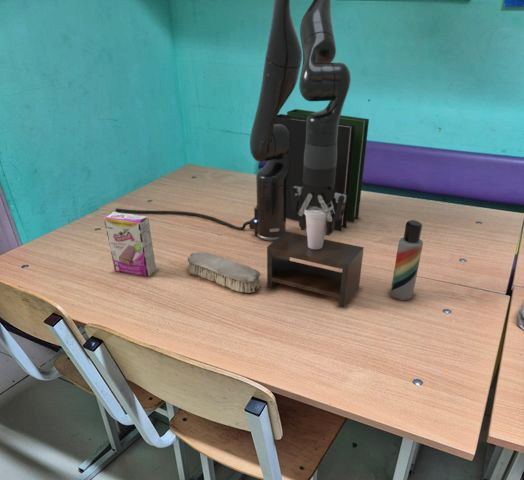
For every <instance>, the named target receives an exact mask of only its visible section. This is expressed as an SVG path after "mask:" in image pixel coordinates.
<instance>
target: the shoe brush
mask: <svg viewBox="0 0 524 480" xmlns="http://www.w3.org/2000/svg"><path fill="white" fill-rule="evenodd" d="M187 262H188V268H187V269H188V273H190V275H193V276H194V275H195V276H198V277H200V278H201V279H206V280H208V281H210V282H215V283H216V284H217V285H219V286H222V287H226V288H228V289H230V290H232V291H235V292H237V293H245V294H250V293H251V294H252V293H255V292H256V290H258V289H259V288H260V276H261V272H260V271H258V270H257V269H255V268H252V267H250V266H249V265H246V264H243V263H240V262H238V261H235V260H232V259H229V258H227V257H223V256H220V255H217V254H212V253H209V252H204V251H203V252H202V251H201V252H200V251H199V252H192V253H190V254H189V256H188V257H187ZM255 289H256V290H255Z"/></svg>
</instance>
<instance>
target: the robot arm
mask: <svg viewBox="0 0 524 480" xmlns="http://www.w3.org/2000/svg"><path fill="white" fill-rule="evenodd" d="M331 3H332V0H312V1H311V4H310V5H309V6H308V8H307V9H306V11H305V12H304V14H303V16H302V19H301V23H300V26H299V36H300V39H299V36H298V34H297V32H296V29H295V25H294V22H293V18H292V17H293V16H292V13H291V0H273V10H272V17H271V25H270V31H269V37H268V42H267V47H266V52H265V58H264V64H263V71H262V80H261V86H260V92H259V97H258V104H257V107H256V111H255V115H254V119H253V124H252V127H251V131H250V135H249V136H250V137H249V150H250V154H251V156H252V158H253V159H254V160H255V161H257V162H259V163H263V162H266V163H265V165H264V166H263V167H261V169H259V170H258V171H257V172H256V174H255V175H256V176H255V180H256V182H255V183H256V187H255V188H256V205H255V206H254V208H253V211H254V212H253V214H254V215H253V216H254V217H253V218H251V219H250V220H248V221H245V222H244V223H243V224H242V226H235V225H234V224H231V223H229V222H226V221H224V220H221V219H219V218H216V217H214V216H212V215H211V216H210V215H207V214H203V213H198V212H191V211H181V210H179V211H177V210H143V209H142V210H141V209H140V210H139V209H138V210H137V209H125V208H117V207H116V208H115V212H119V213H129V214H161V215H162V214H167V215H184V216H185V215H186V216H194V217H198V218H199V217H200V218H204V219H208V220H211V221H214V222H216V223H219V224H221V225H223V226H227V227H229V228H231V229H233V230H238V231H243V230H245V228H246V227H247V226H248V225H249V230H254V236H255V237H257V238H259V239H260V240H262V241H268V242H274V241H275V240H276V239H277V238H279V237H280V236H281V235H282V234H284V233H285V232H286V231H287V218H286V185H287V176H288V173H289V164H290V150H291V141H290V135H289V132H288V130H287V128H286V127H285V126H284V125H281V124H276V125H274V123H275V120H276V117H277V115H279V114H280V111H281V110H282V108H283V107H284V105H285V104H286V102H287V101H288V99H289V98H290V96H291V95H292V93H293V92H294V89H295V88H296V85H297V83H298V79H299V84H298V85H299V86H298V89H299V94H300V95H301V97H302V98H303V99H304V100H305V101H308V102H328V104H327V106H326V107H325V108H324V109H321V110H319V111H314V112H315V113H312V114H310V115H309V116H308V117H307V121H306V143H305V150H304V158H303V161H304V167H303V186H302V187H299V186H297V185H296V186H294V187H293V188H291V190H290V192H291V204H292V211H293V212H294V213H295V212H296V213H298V214H299V221H298V226H299V228H300V230H301V231H303V232H305V230H307V228H306V215H305V214H304V209H305V210H306V209H307V208H308V207H310V206H312V207H315V206H316V207H318V208H322V209H323V212H324V213H326V217H327V219H328V221H327V226H326V232H325V236H327V237H328V236H330V235H332V234H333V233H334V231H335V230H334V226H335V220H339V219H340V218H341V217H342V216H343V213H344V209H345V204H346V199H347V194H346V193H343V194H340V193H336V191H335V177H336V164H337V136H338V124H339V119H340V115H342V111H343V108H344V105H345V101H346V99H347V96H348V93H349V91H350V87H351V80H352V79H351V72H350V69H349V67H348V66H347V65H346V63H344V62H333V61H334V59H335V57H336V54H337V46H336V39H335V35H334V29H333V23H332V9H331V7H332V4H331ZM299 75H300V76H299ZM301 192H302V194H303V196H304V198H305V201H304V203H303V205H302V207H300V195H301ZM333 198H335V199H336V203H338V204H337V209H336V214H335V212H334V209H333V208H334V206H333V204H332V201H331V200H332V199H333Z"/></svg>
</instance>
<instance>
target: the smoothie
mask: <svg viewBox="0 0 524 480" xmlns="http://www.w3.org/2000/svg"><path fill="white" fill-rule="evenodd" d="M304 214H305V215H306V236H307V240H308V247H309V248H310V249H321V248H322V247H323V242H324V239H325V236H326V226H327V221H328V219H327V217H326V213H324V212H323V209H322V208H318V207H316V206H315V207H312V206H310V207H308V208H307V209H306V210H305V209H304Z"/></svg>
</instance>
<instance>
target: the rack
mask: <svg viewBox="0 0 524 480" xmlns="http://www.w3.org/2000/svg"><path fill="white" fill-rule="evenodd" d="M364 250H365V249H364V246H360V245H354V244H350V243H344V242H340V241H335V240H331V239H330V240H329V239H325V238H324V242H323V247H322V248H321V249H310V248H309V247H308V240H307V234H301V233H296V232H290V231H287V230H286V232H285V233H284V234H282V235H281V236H280V237H279V238H277V239H276V240H275V241H271V243H270V244H268V245H267V246H266V287H267V289H270V290H272V289H274V288H275V287H276V286H277V285H278V284H281V285H285V286H289V287H294V288H297V289H301V290H304V291H309V292H313V293H318V294H321V295H325V296H328V297H331V298H332V297H333V298H337V299H339V300H338V303H339V304H338V307H339V308H343V309H344V308H346V307H347V305H348V303H349V302H350V301H351V299H352V298H353V297H354V296H355V294H356V293H357V292H358V291H359V289H360V284H361V283H360V281H361V273H362V265H363V257H364ZM291 259H296V260H300V261H304V262H309V263H312V264H318V265H321V266H322V265H323V266H326V267H331V268H336V269H340V270H341V271H337V270H333V269H329V268H324V267H319V266H316V265H312V264H307V263H302V262H298V261H294V260H291Z"/></svg>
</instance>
